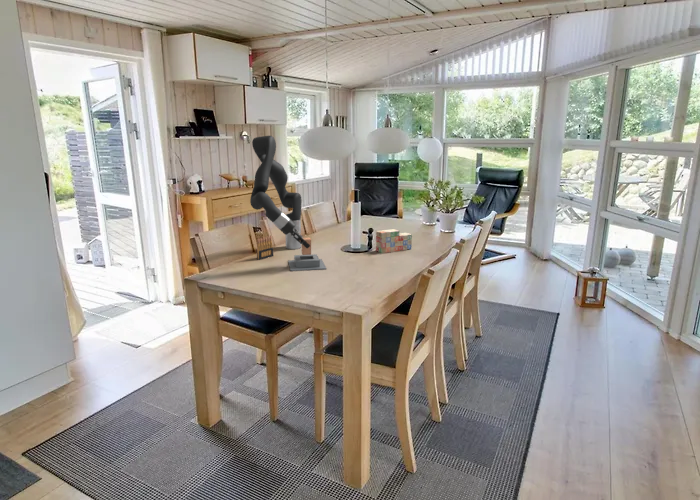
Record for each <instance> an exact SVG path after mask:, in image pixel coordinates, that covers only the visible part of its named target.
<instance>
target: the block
mask: <svg viewBox="0 0 700 500" xmlns="http://www.w3.org/2000/svg"><path fill="white" fill-rule="evenodd" d="M303 239H304V240H305V241H306V242H307V243H308V244H309V245H310V247H309V248H306V247H305V246H304V245H303V244H301V255H312V239H311V237H304V238H303ZM301 240H302V239H301Z"/></svg>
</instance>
